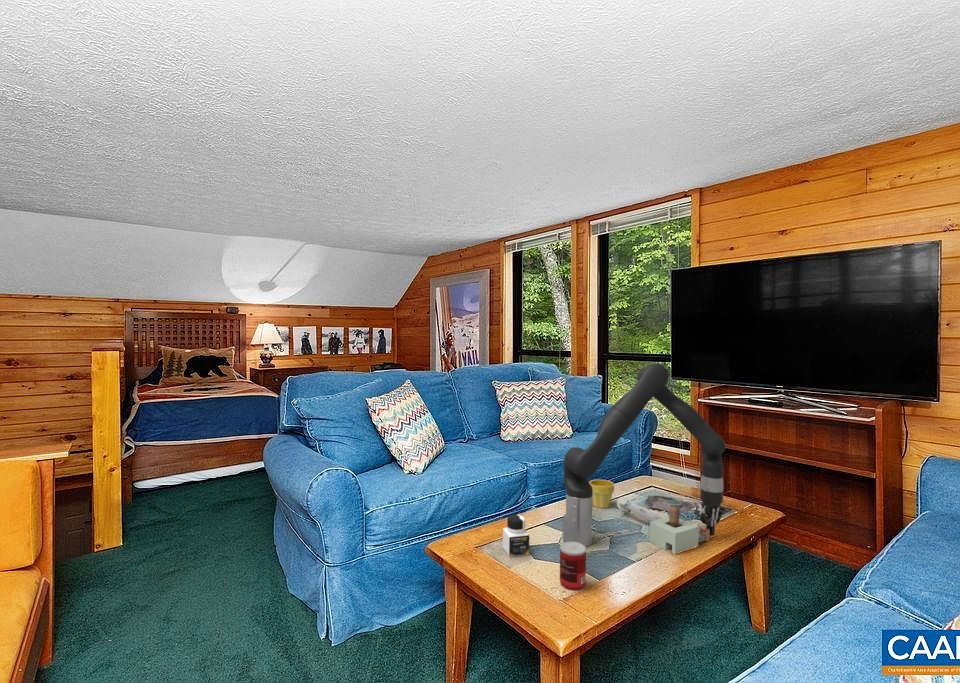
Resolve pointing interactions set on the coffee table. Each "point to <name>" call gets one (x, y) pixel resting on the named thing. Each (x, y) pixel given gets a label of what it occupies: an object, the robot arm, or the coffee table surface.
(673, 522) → the dowel
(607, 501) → the plant pot
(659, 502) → the terrain model
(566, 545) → the canned food
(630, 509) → the white handheld tool
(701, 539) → the pin
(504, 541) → the medicine bottle
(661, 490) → the coffee table surface
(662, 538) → the dock
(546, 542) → the coffee table surface
